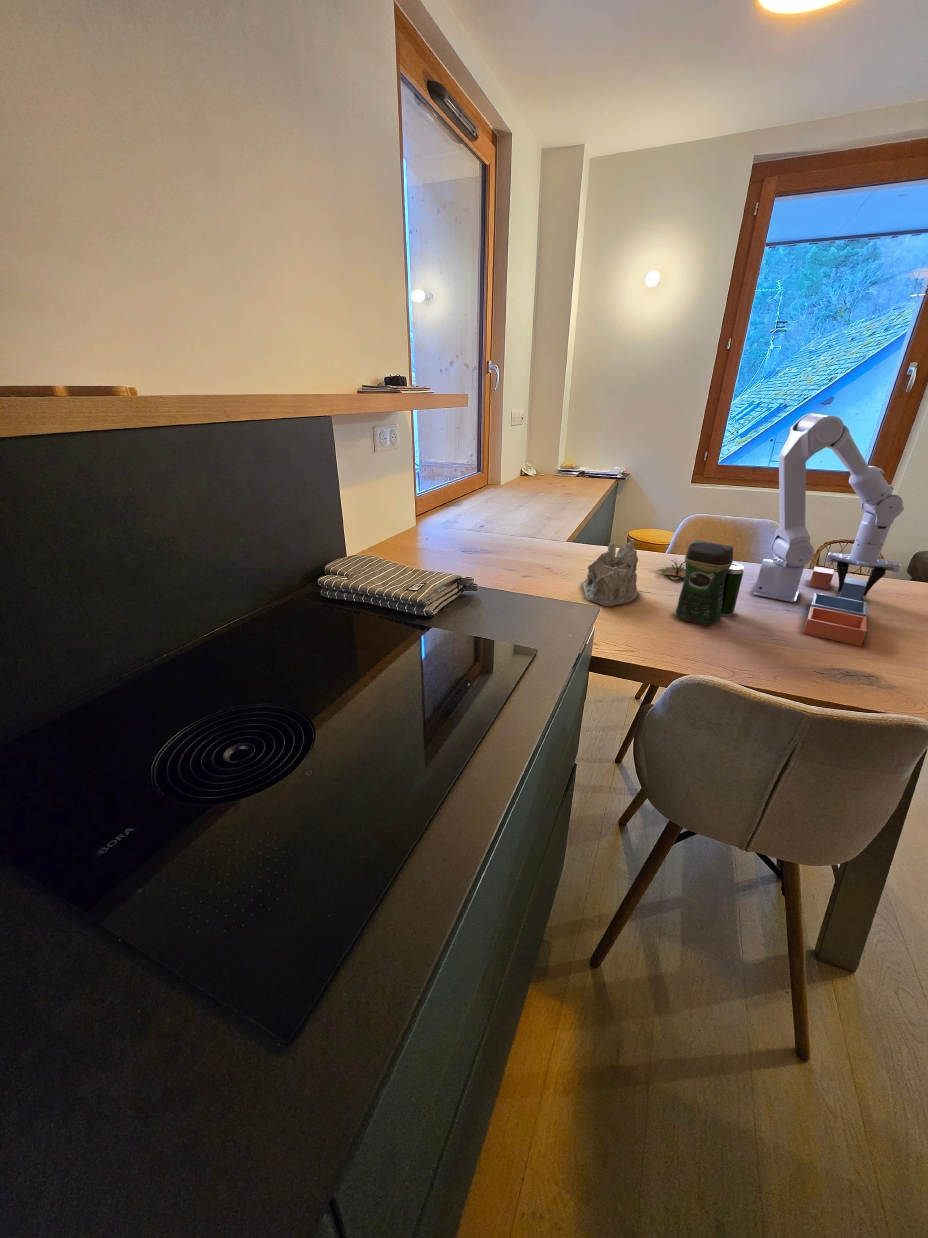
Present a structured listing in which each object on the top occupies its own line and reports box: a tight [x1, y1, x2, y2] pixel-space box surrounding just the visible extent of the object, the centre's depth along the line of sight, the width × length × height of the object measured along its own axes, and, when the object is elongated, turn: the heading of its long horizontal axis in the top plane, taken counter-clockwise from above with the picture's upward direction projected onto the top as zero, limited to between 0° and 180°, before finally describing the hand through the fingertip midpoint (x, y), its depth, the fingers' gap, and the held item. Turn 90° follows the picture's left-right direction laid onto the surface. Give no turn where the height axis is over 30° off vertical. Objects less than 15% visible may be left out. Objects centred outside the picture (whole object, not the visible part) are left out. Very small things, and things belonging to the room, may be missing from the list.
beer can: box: [720, 562, 744, 617], centre depth 118 cm, size 5×5×12 cm
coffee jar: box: [675, 540, 734, 626], centre depth 114 cm, size 10×8×19 cm
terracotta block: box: [808, 566, 835, 591], centre depth 134 cm, size 4×4×4 cm
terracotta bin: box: [803, 605, 868, 647], centre depth 109 cm, size 10×9×4 cm
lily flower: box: [656, 558, 686, 581], centre depth 143 cm, size 12×12×5 cm
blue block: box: [838, 577, 868, 601], centre depth 126 cm, size 4×4×4 cm
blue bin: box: [807, 592, 868, 617], centre depth 117 cm, size 10×9×4 cm
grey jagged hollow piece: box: [582, 538, 639, 607], centre depth 130 cm, size 16×16×15 cm
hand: (851, 592), depth 127 cm, fingers closed on blue block, 4 cm apart
